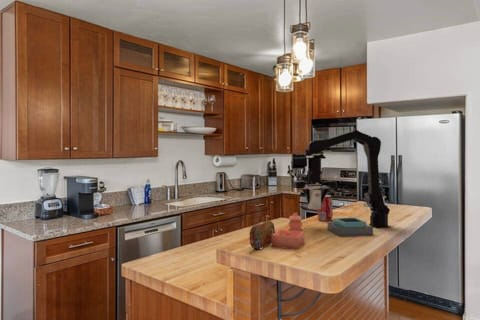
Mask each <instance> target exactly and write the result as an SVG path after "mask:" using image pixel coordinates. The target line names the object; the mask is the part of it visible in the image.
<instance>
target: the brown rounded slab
mask: <svg viewBox="0 0 480 320" xmlns="http://www.w3.org/2000/svg"><path fill="white" fill-rule="evenodd" d="M275 229H276V228H275V224H274V223H273V221H271V220H265V221H261V222H258V223H257V224H254V225H253V226H252V227H251V228H250V231H249V245H250V247H251V248H252V249H254V248H256V249H255V250H261V249H260V248H262V247H264V246H266V247H268V246H269V244H270V245H272V242H271V235H272V234H274V233H275V232H276V230H275ZM267 245H268V246H267ZM264 248H265V247H264Z"/></svg>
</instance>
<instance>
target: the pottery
mask: <svg viewBox="0 0 480 320" xmlns="http://www.w3.org/2000/svg"><path fill="white" fill-rule="evenodd" d="M288 220H289V221H288V226H289V228H288V230H287V229H278V230H277V231H275V233H274V234H272V235H271V242H272V243H271V247H273V246H275V248H282V247H285V248H284V249H291V250H293V249H294V250H298V249H300V248H301V246H303V245H304V244H305V231H304V230H303V229H302V227H303V222H302V216H301V215H298V212H293V213H292V215H290V216H289V218H288Z"/></svg>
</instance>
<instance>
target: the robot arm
mask: <svg viewBox="0 0 480 320" xmlns="http://www.w3.org/2000/svg"><path fill="white" fill-rule="evenodd" d="M352 140H354V141H355V142H356V143H358V144H359V145H362V146H363V151H364V154H365V156H366V158H367V159H366V162H367V181H368V190H367V192H364V194H363V195H364V203H365V204H366V206H367V207H369V210H370V211H371V212H370V216H369V218H370V219H369V221H370V223H369V225H368V226H371V227H373V228H376V229H379V228H380V227H384V228H391V226H390V225H389V213H390V211H391V209H390V207H388V206H387V205H386V204H385V201H384V196H383V194H382V191H381V189H380V175H379V174H380V173H379V171H380V170H379V155H380V152H381V146H382V141H381V139H380V138H379V137H378V136H371V135H368V134H366V133H364V132H362V131H360V130H358V129H354V130H351V131H349V132H348V131H347V132H345V133H342V134H338V135H336V136H333V137H329V138H325V139H319V140H317V139H316V140H313V141H309V142H308V143H307V145H306V146H307V147H306V150H305V151H304V152H303V153H301V154H300V153H299V154H297V153H292V154H291V160H290V168H291V170H304V169H305V168H307V172H306V174H305V173H300V174H299V175H300V176H299V180H295V181H292V182H293V183H292V188H294V189H299V190H302V191H301V192H303V194H304V197H305V200H306V203H307V205H308V204H309V202H310V190H311V189H310V188H309V187H319V190H321V204H322V202H323V200H324V197H325V195H327V193H328V191H331V188H337V187H338V184H337V181H336V180H333V179H332V180H322V174H323V171H322V159H327V157H326V156H325V155H324V154H323V153H322V152H323V151H325V150H327V149H329V148H330V147H333V146H337V145H339V144H344V143H346V142H350V141H352ZM319 153H320V154H319Z"/></svg>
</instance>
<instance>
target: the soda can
mask: <svg viewBox="0 0 480 320" xmlns="http://www.w3.org/2000/svg"><path fill="white" fill-rule="evenodd" d="M333 206H334V205H333V199H332V195H331V194H326V195H325V197H324V200H323V202H322V204H321V209H317V219H318V220H319V221H322V222H330V221H331V220H332V219H333V210H334V209H333Z"/></svg>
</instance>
